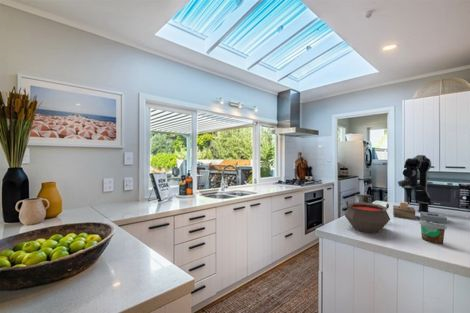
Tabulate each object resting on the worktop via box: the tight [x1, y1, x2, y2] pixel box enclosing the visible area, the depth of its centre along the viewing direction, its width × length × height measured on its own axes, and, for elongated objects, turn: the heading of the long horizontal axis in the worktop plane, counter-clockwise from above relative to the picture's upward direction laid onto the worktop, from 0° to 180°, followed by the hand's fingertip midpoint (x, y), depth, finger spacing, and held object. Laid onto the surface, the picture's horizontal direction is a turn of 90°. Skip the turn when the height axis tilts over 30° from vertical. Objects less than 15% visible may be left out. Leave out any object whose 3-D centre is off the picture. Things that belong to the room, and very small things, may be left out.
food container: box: [418, 218, 447, 245], centre depth 117 cm, size 12×6×10 cm, turn 5°
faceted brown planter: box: [344, 200, 391, 234], centre depth 135 cm, size 24×24×16 cm
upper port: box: [392, 204, 416, 221], centre depth 162 cm, size 12×12×6 cm
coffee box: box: [354, 193, 373, 204], centre depth 157 cm, size 9×6×16 cm
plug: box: [399, 201, 409, 209], centre depth 162 cm, size 4×4×7 cm
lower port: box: [419, 212, 448, 225], centre depth 153 cm, size 12×12×4 cm
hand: (412, 198), depth 158 cm, fingers open, 9 cm apart
